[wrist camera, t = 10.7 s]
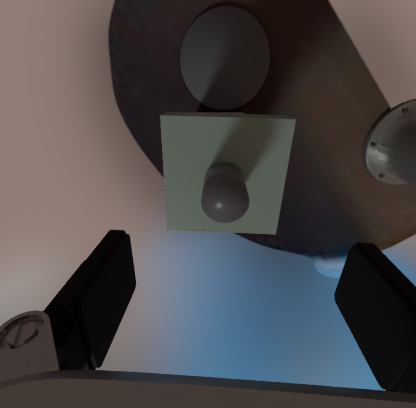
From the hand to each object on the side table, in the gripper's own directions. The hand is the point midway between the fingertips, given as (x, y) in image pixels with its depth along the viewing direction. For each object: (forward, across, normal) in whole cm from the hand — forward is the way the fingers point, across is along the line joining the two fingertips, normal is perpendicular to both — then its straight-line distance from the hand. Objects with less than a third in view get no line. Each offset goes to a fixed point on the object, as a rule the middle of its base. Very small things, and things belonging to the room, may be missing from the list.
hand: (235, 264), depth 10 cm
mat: (+30, +1, -10) cm, 31 cm away
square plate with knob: (+13, 0, 0) cm, 13 cm away
